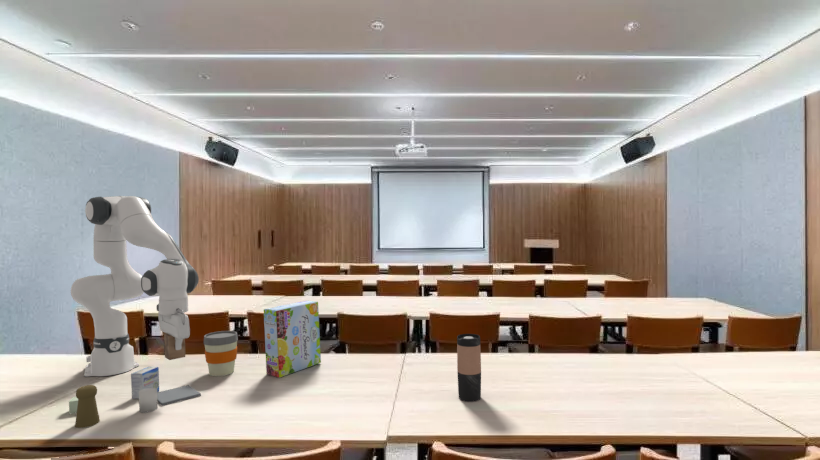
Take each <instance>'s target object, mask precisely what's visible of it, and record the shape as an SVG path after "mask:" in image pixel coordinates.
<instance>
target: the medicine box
mask: <svg viewBox="0 0 820 460" xmlns="http://www.w3.org/2000/svg"><path fill="white" fill-rule="evenodd" d="M159 369H160V367H158V366H147V367H143V368H142V369H139V370H137V371H135V372H131V374H130V385H131V399H135V400H136V399H137V400H139V391H140V390H143V389H146V388H157V392H160V374H159V373H160V371H159Z"/></svg>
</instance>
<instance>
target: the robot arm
mask: <svg viewBox="0 0 820 460" xmlns="http://www.w3.org/2000/svg"><path fill="white" fill-rule="evenodd" d="M84 209H85V210H84V211H85V217H86V219H87V221H89V223H91V224H93V225H94V229H93V259H94V261H95V262H96V263H97V264H98V265H102V266H104V267H107V268H109V269H110V273H108V274H98V275H97V274H96V275H88V276H82V277H80V278H77V279H75V281H73V283H72V284H71V288H70V295H71V298H72V299H73V300H74V301H75V303H78V304H79V305H81V306H83V307H84V308H85V309H86V310H88V312H89V313H90V315H91V317H92V319H93V326H94V338H93V341H92V342H93V343H92V344H93V350H92V351H91V354H90V355H88V356H86V363H87V365H85V368H84V374H83V377H107V376H115V375H118V374H123V373H126V372H129V371H131V370H132V369H134V368H136V367H139V366H140V363H139V362H136V361H135V352H134V346H133V345H131V344H130V334H129V333H128V317H127V314H126V313H124V312H123V311H121V310H119V309H116V308H112V307H111V305H110V303H111V302H119V301H126V300H130V299H135V298H138V297H140V296H142V295H144V294H145V295H147V296H148V297H159V298H158V304H156V312H158V324H159V330H160V331H161V332H163V333H164V334H166V333H167V334H169V335H171V336H173V337H175V344H174V347H175V350H181V348H182V345H181V344H182V341H183V339H185V340H186V339H188V338H189V337H190V335H191V328H190V319H189V316H188V314H185V313H187V312H189V296H188V294H191V293H192V292H193V291H194V290H195V288H197V286H198V285H199V282H200V281H199V274H198V272H197V270H196V269H195V268H194V267H193V265H191V263H189V261H188V260H187V258H186V257H185V255H184V254H183V252H182V250H181V249H180V248H179V245H178V244H177V243H176V241H175V240H174V238H173V237H172V235H170V233H168V232H166V231H164V230H163V229H162V228H161V226H159V225H158V224H157V223H156V222H155V220H154V218H153V215H152V206H151V203H150V202H149V200H148V199H147V198H145V197H141V196H135V195H130V196H129V195H128V196H127V195H117V196H95V197H91V198H89V199H88V200H87V202H86V204H85V208H84ZM127 242H128V243H129V244H132V245H133V246H136V247H140V248H145V249H150V250H153V251H156V252H159V253H160V254H162V255H163V256H164V257H165V259H161V260H160V261H159V263H158V265H157V266H155V267H154V268H152V269H147V270H146V271H145V272H144V273H143V274H141V273H139V272H137V271H136V270H135V269H134V268H133V267H132V266H131V264H130V262H129V259H128V252H127Z"/></svg>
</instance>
